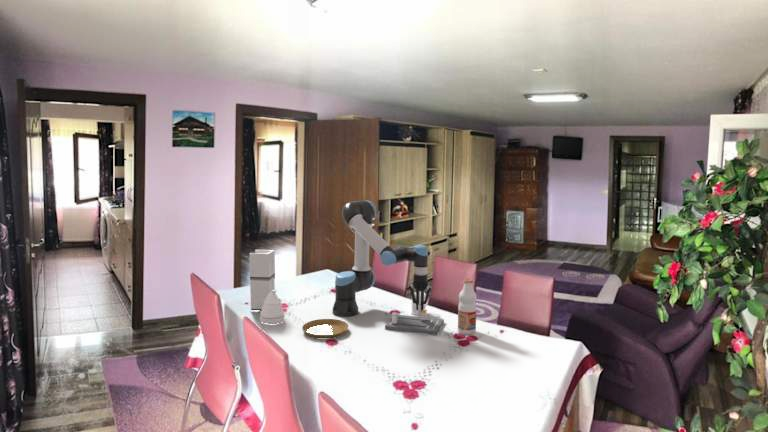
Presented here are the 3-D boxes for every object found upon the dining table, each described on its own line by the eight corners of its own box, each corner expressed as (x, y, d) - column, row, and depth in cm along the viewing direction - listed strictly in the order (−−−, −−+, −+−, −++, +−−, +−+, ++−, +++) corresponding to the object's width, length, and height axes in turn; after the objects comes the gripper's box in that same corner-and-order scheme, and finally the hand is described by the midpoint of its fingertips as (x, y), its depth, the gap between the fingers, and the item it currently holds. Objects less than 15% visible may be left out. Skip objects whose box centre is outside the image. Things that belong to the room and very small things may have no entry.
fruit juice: (459, 327, 283) (460, 277, 279) (476, 329, 280) (478, 278, 276) (456, 333, 274) (457, 281, 270) (474, 335, 271) (476, 282, 268)
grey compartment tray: (384, 329, 280) (384, 325, 279) (394, 317, 299) (395, 314, 298) (436, 335, 272) (436, 331, 271) (443, 322, 291) (443, 319, 290)
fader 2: (420, 320, 287) (420, 310, 287) (421, 318, 291) (421, 309, 290) (425, 320, 287) (425, 311, 286) (426, 318, 290) (426, 309, 289)
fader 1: (391, 323, 282) (391, 314, 281) (393, 321, 285) (393, 312, 284) (396, 323, 281) (396, 314, 280) (398, 321, 284) (398, 312, 283)
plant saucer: (330, 344, 259) (329, 338, 258) (292, 335, 271) (292, 328, 271) (357, 330, 279) (357, 323, 279) (321, 321, 292) (321, 316, 291)
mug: (424, 309, 314) (424, 289, 313) (433, 313, 307) (433, 293, 306) (408, 312, 308) (408, 292, 306) (416, 316, 301) (417, 296, 299)
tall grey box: (275, 307, 316) (274, 250, 311) (270, 312, 305) (268, 253, 301) (257, 306, 317) (255, 249, 312) (251, 312, 306) (249, 253, 302)
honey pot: (289, 321, 291) (288, 289, 289) (269, 326, 282) (268, 294, 280) (275, 315, 300) (274, 285, 298) (256, 321, 291) (255, 289, 288)
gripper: (407, 274, 284) (406, 316, 287) (430, 276, 280) (430, 319, 283) (410, 271, 291) (409, 312, 294) (433, 273, 287) (432, 314, 291)
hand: (419, 315), depth 289 cm, fingers closed
